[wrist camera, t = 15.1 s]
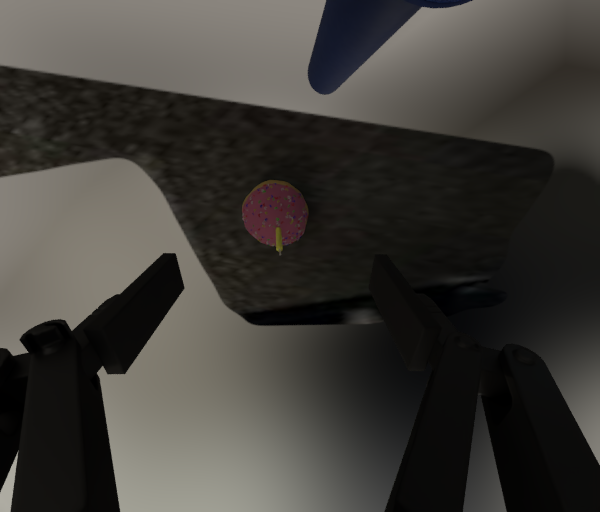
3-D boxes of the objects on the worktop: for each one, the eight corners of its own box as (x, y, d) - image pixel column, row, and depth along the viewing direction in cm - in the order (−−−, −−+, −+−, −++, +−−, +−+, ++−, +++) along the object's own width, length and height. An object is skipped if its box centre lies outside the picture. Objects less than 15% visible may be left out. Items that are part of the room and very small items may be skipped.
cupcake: (314, 220, 36) (325, 256, 25) (264, 241, 37) (254, 284, 26) (291, 164, 32) (292, 180, 21) (236, 190, 33) (211, 217, 23)
